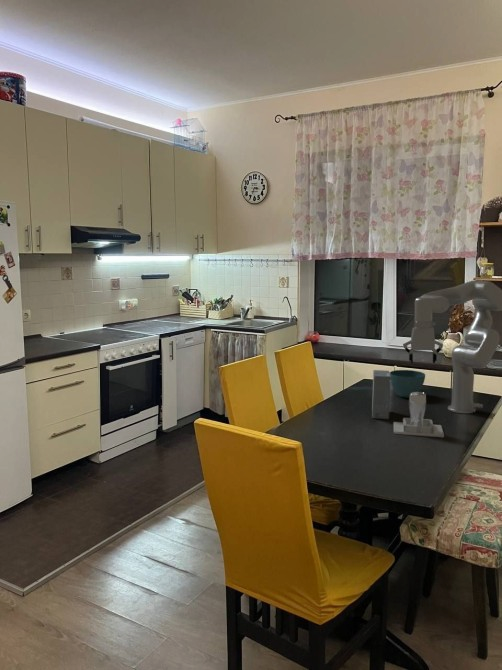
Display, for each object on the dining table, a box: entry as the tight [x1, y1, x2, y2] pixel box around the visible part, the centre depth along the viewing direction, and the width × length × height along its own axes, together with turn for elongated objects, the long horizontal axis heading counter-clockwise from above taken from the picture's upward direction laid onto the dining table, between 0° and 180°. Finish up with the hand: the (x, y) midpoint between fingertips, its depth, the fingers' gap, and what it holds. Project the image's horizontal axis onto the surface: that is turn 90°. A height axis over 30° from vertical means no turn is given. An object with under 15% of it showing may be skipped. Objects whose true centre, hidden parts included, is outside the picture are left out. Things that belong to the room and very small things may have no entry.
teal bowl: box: [389, 369, 426, 399], centre depth 296 cm, size 18×18×12 cm
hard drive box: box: [371, 369, 391, 420], centre depth 260 cm, size 16×8×20 cm, turn 168°
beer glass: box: [408, 391, 427, 426], centre depth 237 cm, size 7×7×15 cm
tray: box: [393, 417, 445, 438], centre depth 237 cm, size 20×14×6 cm
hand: (422, 362), depth 251 cm, fingers open, 9 cm apart
